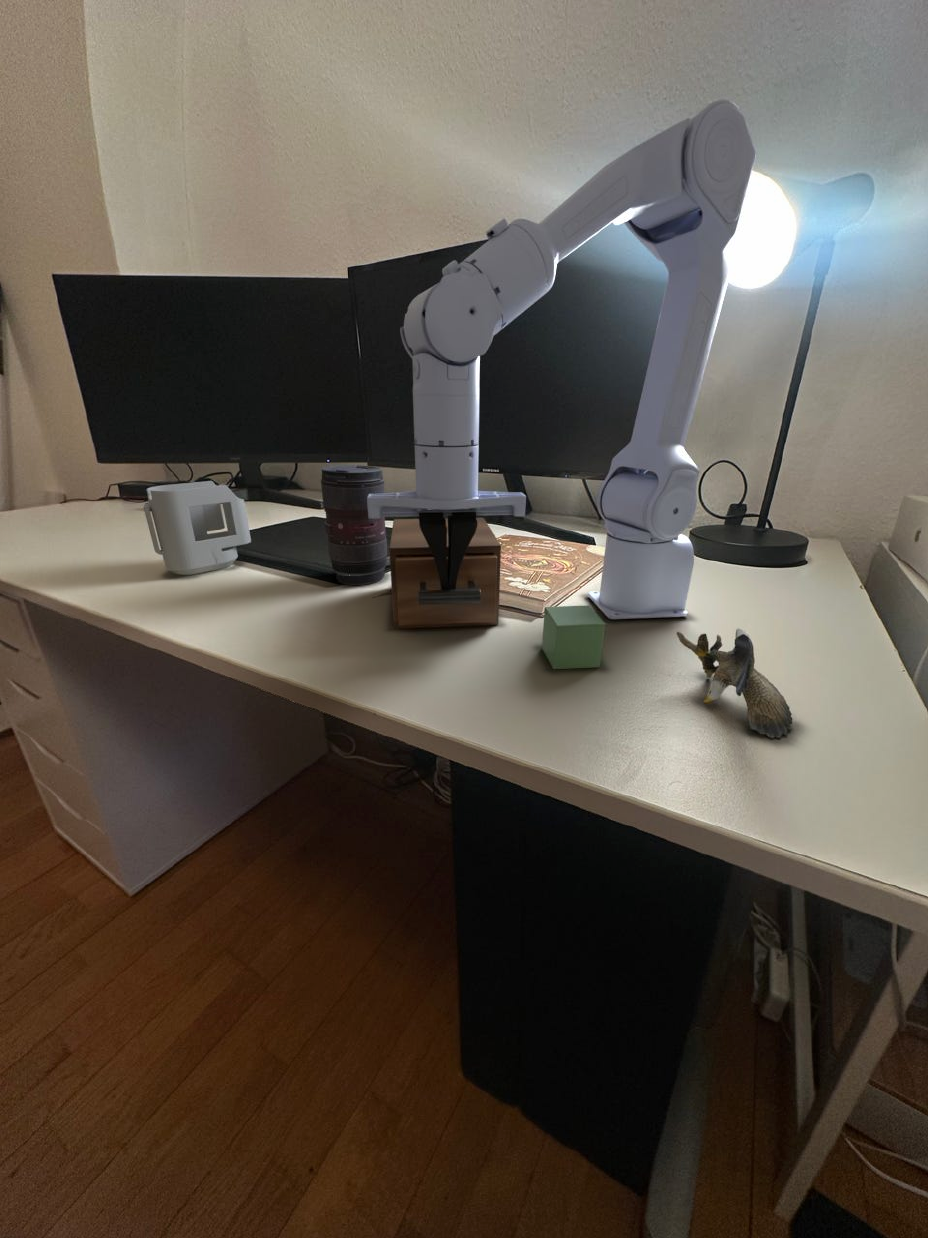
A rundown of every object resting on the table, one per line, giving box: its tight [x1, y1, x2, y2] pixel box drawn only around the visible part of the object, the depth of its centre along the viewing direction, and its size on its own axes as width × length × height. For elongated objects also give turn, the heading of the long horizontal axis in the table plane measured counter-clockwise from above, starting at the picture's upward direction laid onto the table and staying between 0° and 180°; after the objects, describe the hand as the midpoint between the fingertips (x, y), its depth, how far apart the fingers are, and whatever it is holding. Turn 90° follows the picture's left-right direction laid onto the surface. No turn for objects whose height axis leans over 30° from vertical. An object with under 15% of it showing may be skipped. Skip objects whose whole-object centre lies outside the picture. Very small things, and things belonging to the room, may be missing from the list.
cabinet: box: [388, 517, 502, 629], centre depth 59 cm, size 14×12×9 cm
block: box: [541, 604, 606, 670], centre depth 47 cm, size 4×4×4 cm
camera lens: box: [320, 464, 388, 586], centre depth 66 cm, size 8×8×15 cm
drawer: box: [395, 553, 497, 626], centre depth 55 cm, size 17×10×7 cm, turn 6°
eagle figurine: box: [676, 627, 793, 739], centre depth 40 cm, size 8×7×9 cm
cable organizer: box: [143, 480, 252, 576], centre depth 71 cm, size 7×12×12 cm, turn 134°
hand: (447, 588), depth 49 cm, fingers closed
